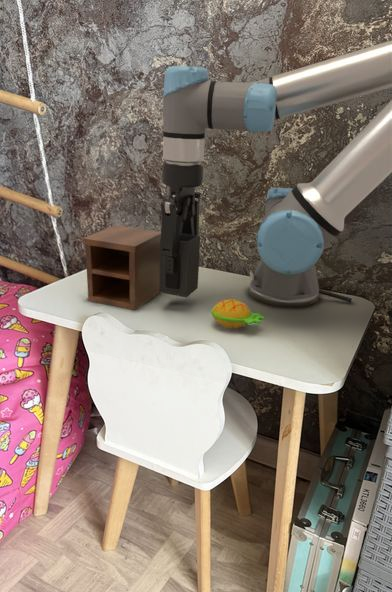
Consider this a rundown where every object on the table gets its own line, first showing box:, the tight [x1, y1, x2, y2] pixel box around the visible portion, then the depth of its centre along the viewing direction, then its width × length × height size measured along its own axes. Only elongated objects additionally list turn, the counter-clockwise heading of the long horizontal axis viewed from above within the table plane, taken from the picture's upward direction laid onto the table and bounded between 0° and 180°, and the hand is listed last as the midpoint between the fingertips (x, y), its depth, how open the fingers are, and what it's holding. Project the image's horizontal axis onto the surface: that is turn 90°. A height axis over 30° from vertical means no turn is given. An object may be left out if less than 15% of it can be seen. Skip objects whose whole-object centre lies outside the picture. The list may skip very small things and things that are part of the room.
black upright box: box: [159, 233, 201, 298], centre depth 104 cm, size 6×6×11 cm
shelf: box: [82, 225, 161, 311], centre depth 109 cm, size 12×13×13 cm
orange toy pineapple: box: [210, 298, 265, 329], centre depth 98 cm, size 7×10×5 cm
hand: (179, 282), depth 105 cm, fingers closed on black upright box, 6 cm apart
